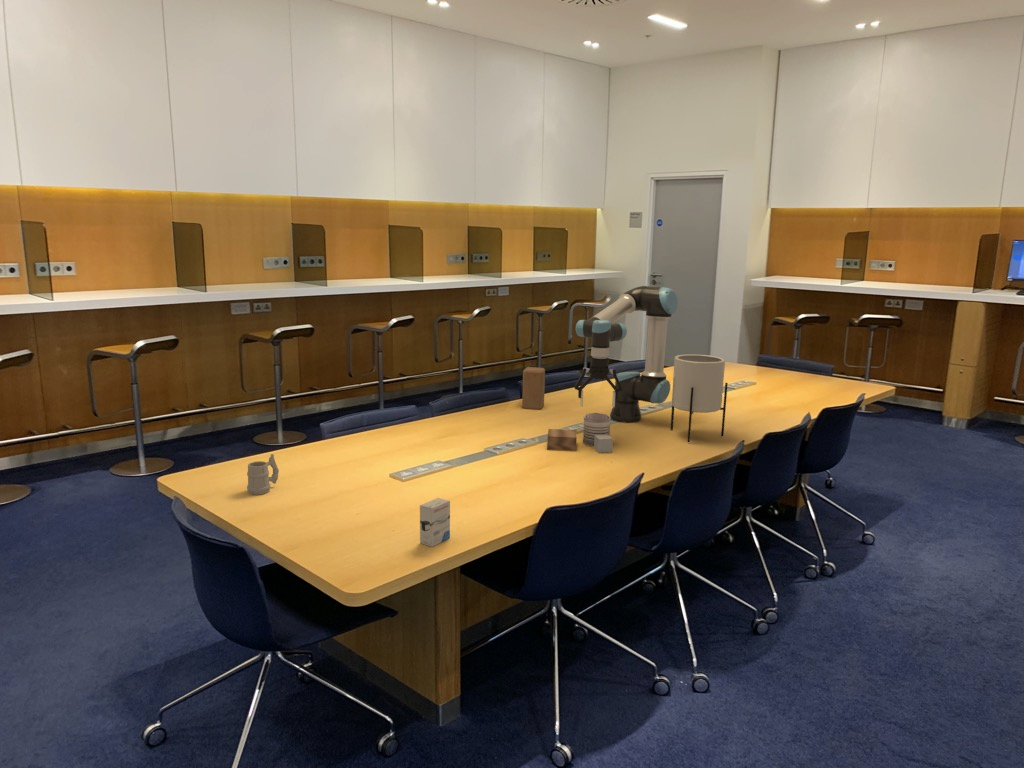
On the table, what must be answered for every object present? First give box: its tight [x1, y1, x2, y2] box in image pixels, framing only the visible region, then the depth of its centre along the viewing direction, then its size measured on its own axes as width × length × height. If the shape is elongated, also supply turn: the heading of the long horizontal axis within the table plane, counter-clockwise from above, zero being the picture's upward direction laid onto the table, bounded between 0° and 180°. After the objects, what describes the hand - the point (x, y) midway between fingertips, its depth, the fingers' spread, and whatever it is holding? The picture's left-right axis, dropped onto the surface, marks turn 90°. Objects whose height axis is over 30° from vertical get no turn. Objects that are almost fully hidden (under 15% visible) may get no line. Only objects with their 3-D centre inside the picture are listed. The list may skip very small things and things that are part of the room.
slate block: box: [593, 435, 614, 454], centre depth 318 cm, size 6×6×6 cm
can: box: [582, 412, 612, 447], centre depth 328 cm, size 11×11×12 cm
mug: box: [246, 453, 279, 496], centre depth 262 cm, size 8×12×12 cm, turn 143°
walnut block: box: [546, 428, 578, 452], centre depth 323 cm, size 12×12×6 cm
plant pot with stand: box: [670, 353, 728, 442], centre depth 339 cm, size 24×24×36 cm
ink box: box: [419, 497, 451, 548], centre depth 223 cm, size 8×5×12 cm, turn 145°
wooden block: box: [521, 366, 546, 410], centre depth 390 cm, size 10×10×20 cm
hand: (597, 406), depth 326 cm, fingers open, 13 cm apart
